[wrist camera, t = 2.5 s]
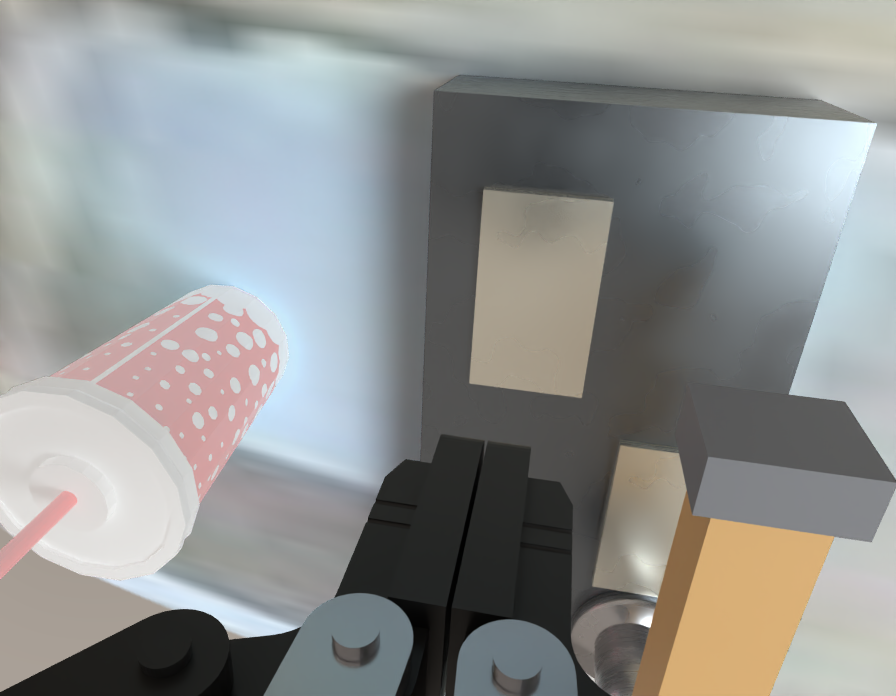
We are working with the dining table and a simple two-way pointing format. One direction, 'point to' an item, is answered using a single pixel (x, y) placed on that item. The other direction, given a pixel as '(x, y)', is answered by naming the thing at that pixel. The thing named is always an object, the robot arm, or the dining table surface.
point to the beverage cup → (135, 434)
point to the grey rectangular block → (620, 296)
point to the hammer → (754, 534)
